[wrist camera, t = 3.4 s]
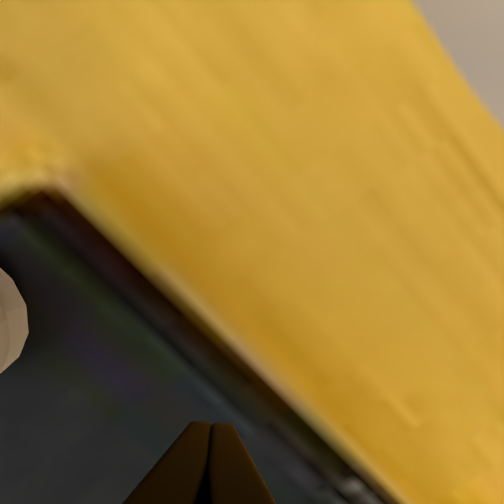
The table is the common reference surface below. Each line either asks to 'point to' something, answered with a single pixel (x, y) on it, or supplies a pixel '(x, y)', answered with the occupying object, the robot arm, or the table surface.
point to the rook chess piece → (11, 321)
